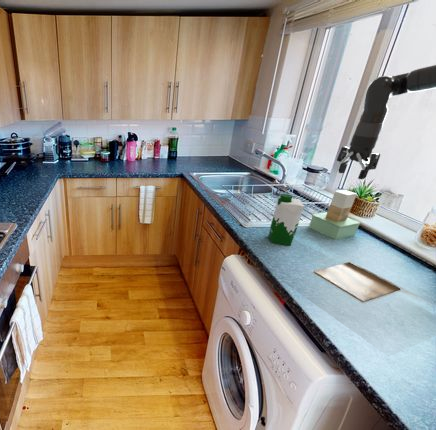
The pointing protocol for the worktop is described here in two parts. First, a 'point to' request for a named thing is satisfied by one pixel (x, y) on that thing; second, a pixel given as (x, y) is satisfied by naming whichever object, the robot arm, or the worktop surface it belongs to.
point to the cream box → (343, 199)
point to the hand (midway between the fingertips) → (350, 175)
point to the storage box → (333, 226)
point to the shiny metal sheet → (357, 281)
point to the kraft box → (338, 213)
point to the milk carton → (285, 220)
